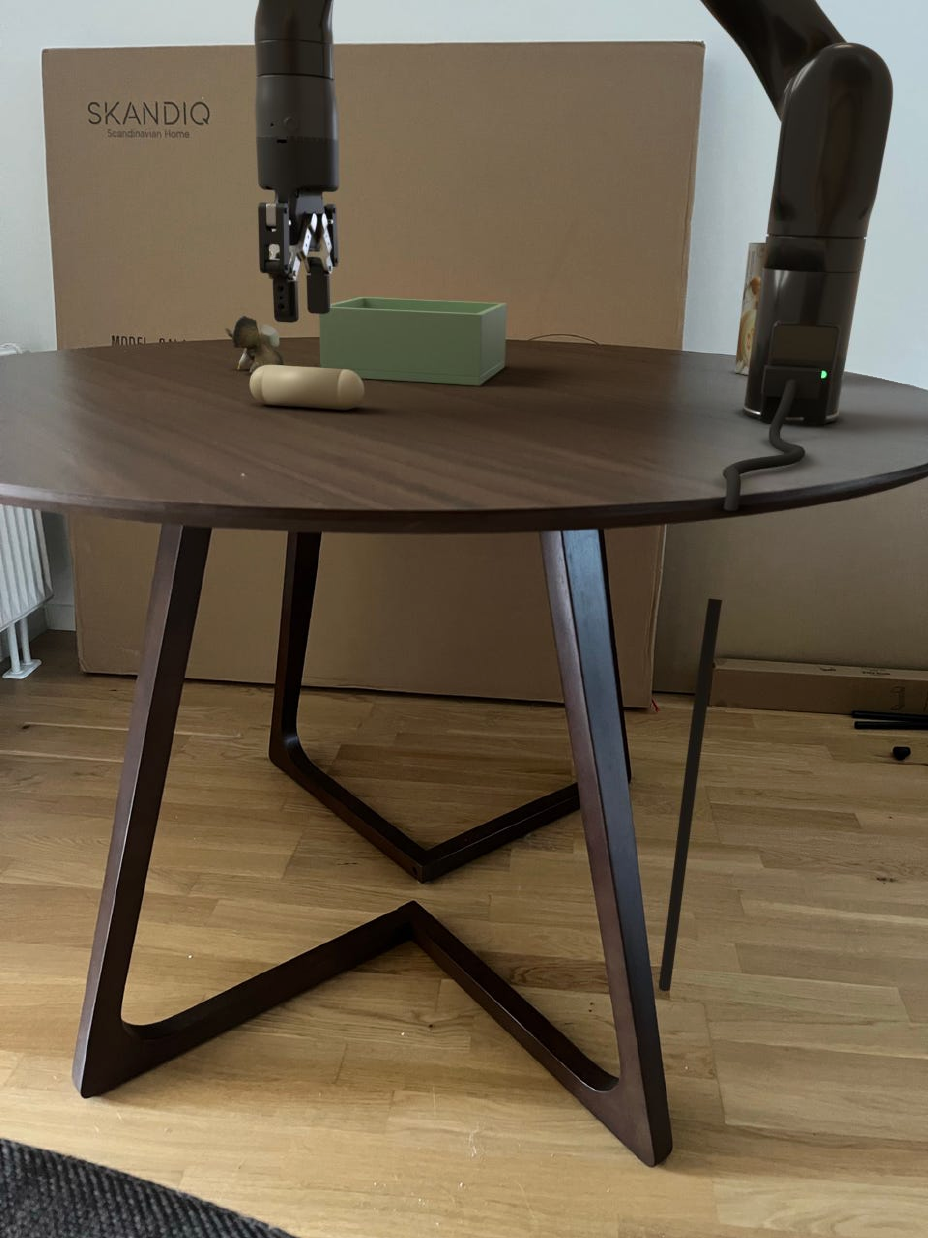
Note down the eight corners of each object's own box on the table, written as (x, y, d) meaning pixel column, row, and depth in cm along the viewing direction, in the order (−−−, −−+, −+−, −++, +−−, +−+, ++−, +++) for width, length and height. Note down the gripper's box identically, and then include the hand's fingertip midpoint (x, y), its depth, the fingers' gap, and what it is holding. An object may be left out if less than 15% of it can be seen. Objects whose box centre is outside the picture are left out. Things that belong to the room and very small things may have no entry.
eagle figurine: (209, 356, 124) (218, 352, 116) (236, 306, 124) (247, 298, 116) (263, 388, 128) (275, 386, 119) (289, 339, 128) (304, 334, 119)
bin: (479, 385, 116) (481, 314, 113) (320, 376, 119) (318, 306, 116) (504, 367, 130) (507, 303, 127) (361, 359, 134) (360, 296, 130)
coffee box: (818, 380, 125) (839, 244, 119) (778, 383, 122) (798, 243, 116) (769, 370, 133) (786, 241, 126) (730, 372, 130) (746, 241, 124)
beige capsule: (357, 414, 98) (356, 373, 96) (244, 406, 100) (241, 366, 99) (369, 407, 102) (369, 367, 100) (260, 400, 104) (258, 361, 102)
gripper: (289, 139, 99) (295, 309, 105) (225, 128, 86) (236, 322, 92) (360, 140, 97) (362, 313, 103) (307, 129, 84) (312, 327, 91)
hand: (303, 317), depth 98 cm, fingers open, 8 cm apart
